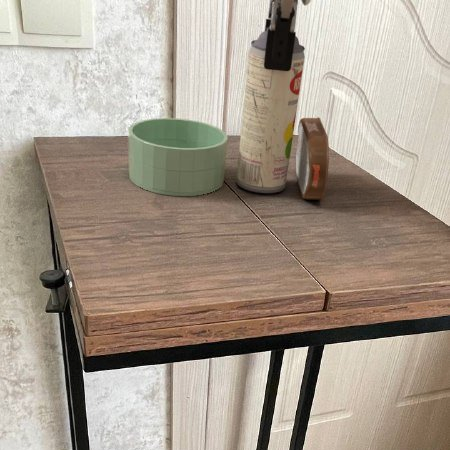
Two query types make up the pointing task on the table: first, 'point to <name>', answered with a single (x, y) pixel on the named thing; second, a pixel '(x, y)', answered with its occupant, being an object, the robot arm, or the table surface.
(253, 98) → the aerosol can
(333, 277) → the table surface
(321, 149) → the tin
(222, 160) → the bowl
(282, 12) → the robot arm
